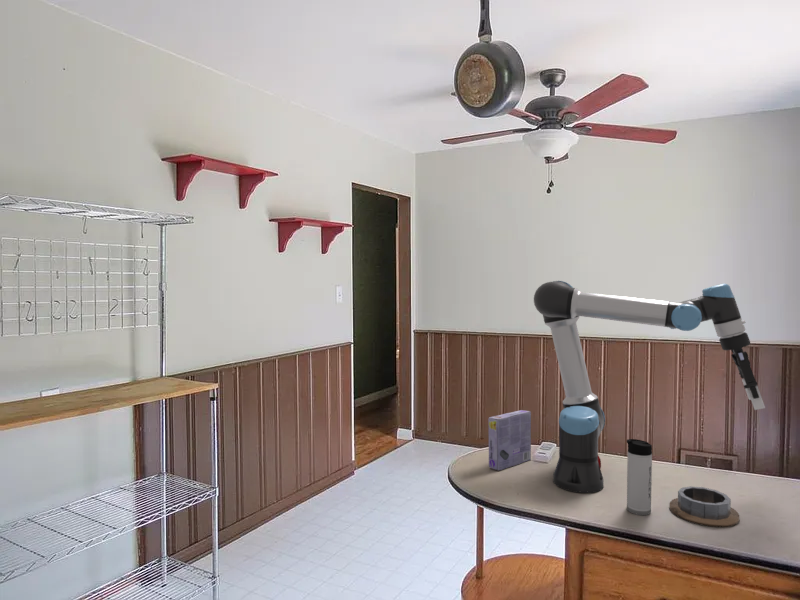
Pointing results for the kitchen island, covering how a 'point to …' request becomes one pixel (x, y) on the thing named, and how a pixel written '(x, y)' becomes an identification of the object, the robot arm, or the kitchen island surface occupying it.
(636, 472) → the travel mug
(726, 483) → the kitchen island surface
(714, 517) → the ring collar
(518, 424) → the cake pan box
